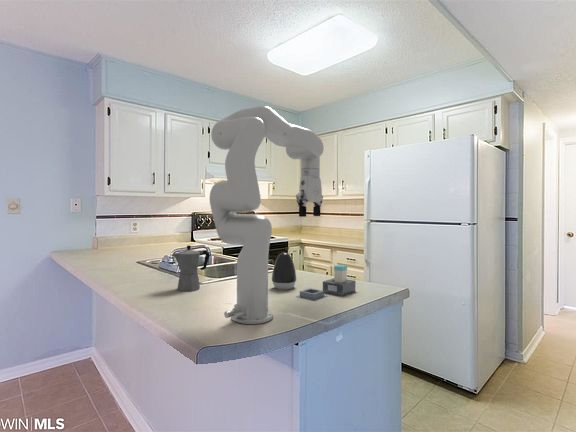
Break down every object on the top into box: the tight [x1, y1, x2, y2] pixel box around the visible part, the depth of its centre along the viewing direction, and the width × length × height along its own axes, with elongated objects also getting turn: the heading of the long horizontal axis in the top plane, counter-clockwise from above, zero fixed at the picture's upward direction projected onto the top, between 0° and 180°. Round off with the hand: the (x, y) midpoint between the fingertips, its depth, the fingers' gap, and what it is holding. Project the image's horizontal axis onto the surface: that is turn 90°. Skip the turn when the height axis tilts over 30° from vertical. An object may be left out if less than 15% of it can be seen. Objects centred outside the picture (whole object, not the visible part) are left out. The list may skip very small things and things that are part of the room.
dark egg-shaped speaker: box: [271, 252, 297, 291], centre depth 139 cm, size 10×10×15 cm
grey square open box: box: [295, 287, 329, 302], centre depth 125 cm, size 9×9×3 cm
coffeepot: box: [172, 244, 211, 293], centre depth 138 cm, size 15×9×18 cm, turn 121°
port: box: [322, 277, 356, 297], centre depth 132 cm, size 10×9×5 cm
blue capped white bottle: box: [333, 264, 348, 283], centre depth 132 cm, size 4×4×10 cm
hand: (309, 216), depth 135 cm, fingers open, 9 cm apart
